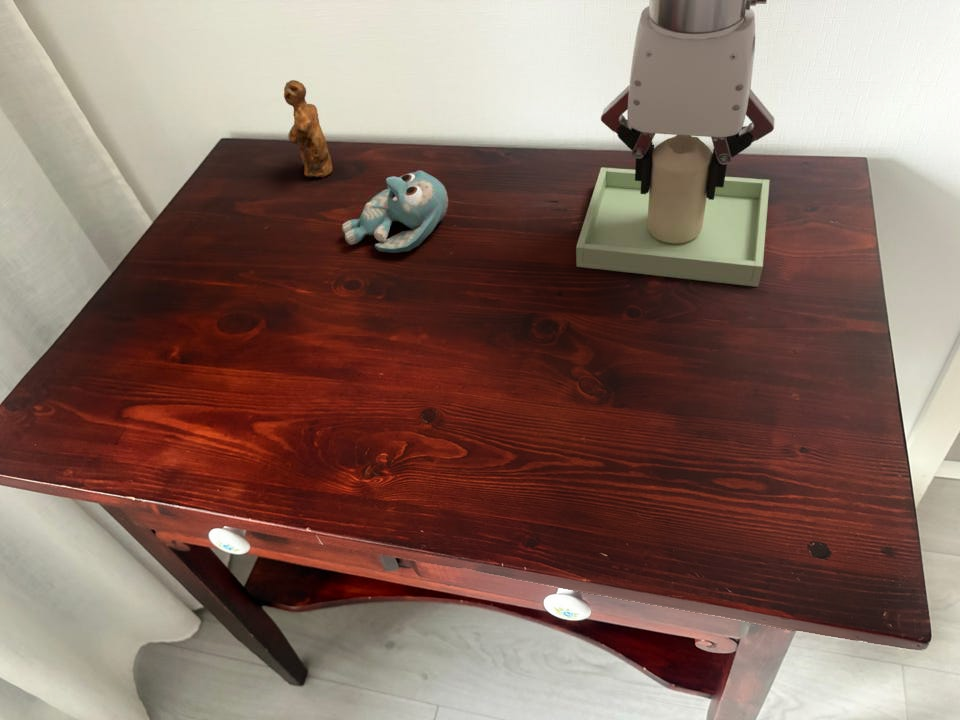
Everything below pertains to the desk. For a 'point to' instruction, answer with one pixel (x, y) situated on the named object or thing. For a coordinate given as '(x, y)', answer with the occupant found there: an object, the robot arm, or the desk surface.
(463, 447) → the desk surface
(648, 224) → the candle
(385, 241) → the stuffed animal
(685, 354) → the desk surface
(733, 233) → the tray
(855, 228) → the desk surface
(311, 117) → the figurine
